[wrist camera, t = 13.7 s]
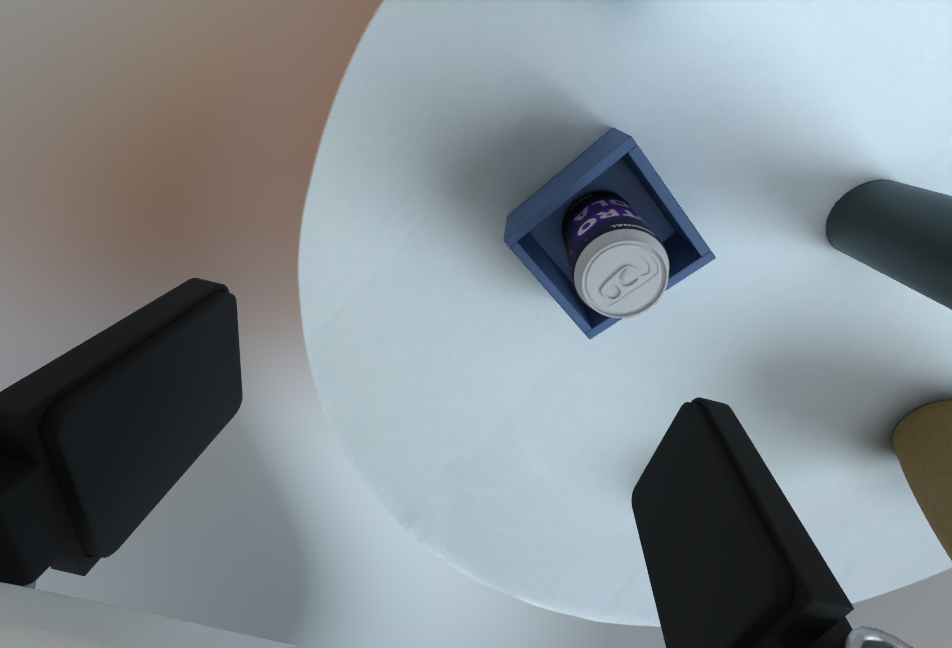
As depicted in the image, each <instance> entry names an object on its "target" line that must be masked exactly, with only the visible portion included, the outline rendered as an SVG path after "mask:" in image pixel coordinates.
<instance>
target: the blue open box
mask: <svg viewBox="0 0 952 648" xmlns="http://www.w3.org/2000/svg"><path fill="white" fill-rule="evenodd" d="M599 191H605V192H611V193H614V194H617V195H619V196H620V197H622V198H623V199H624V200H626V201H627V203H628V204H629V205H630V206H631V207H632V208H633V210H634V211H635V212H636V213H637V214H638V215H639V217H640V218H641V219H642V220H643V221H644V222H645V224H646V225H647V226H648V227H649V228H650V229H651V231H652V232H653V233H654V234H655V235H656V237H657V238H658V239H659V240H660V241H661V242H662V244H663V245H664V247H665V249H666V251H667V253H668V257H669V263H670V269H669V275H668V283H667V287H666V289H665V291H666V290H667V289H669V288H670V287H672V286H673V285H675V284H677V283H678V282H680V281H681V280H683V279H684V278H686V277H687V276H689V275H690V274H692V273H694V272H695V271H697V270H698V269H700V268H701V267H703V266H704V265H706V264H707V263H709V262H711V261H712V260H714V259H715V256H714V254H713V253H712V251H710V249H709V247H708V246H707V244H706V243H705V241H704V240H703V238H702V237H701V236H700V234H699V233H698V231H697V230H696V228H695V227H694V226H693V224H692V223H691V221H690V220H689V218H688V217H687V215H686V214H685V213H684V211H683V210H682V208H681V207H680V205H679V204H678V203H677V201H676V200H675V198H674V197H673V195H672V194H671V192H670V191H669V190H668V188H667V187H666V185H665V184H664V182H663V181H662V180H661V178H660V177H659V175H658V174H657V172H656V171H655V169H654V168H653V167H652V165H651V164H650V162H649V161H648V159H647V158H646V157H645V155H644V154H643V152H642V151H641V149H640V148H639V146H638V145H637V144H636V142H635V141H634V139H633V138H632V136H630V135H627V134H625V133H623V132H621V131H619V130H617V129H615V128H612V129H611V130H609V131H608V132H607V133H606V134H605V135H604V136H602V137H601V138H600V139H599V140H598V141H596V142H595V143H594V144H593V145H592V146H590V147H589V148H588V149H587V150H586V151H585V152H583V153H582V154H581V155H580V156H579V157H577V158H576V159H575V160H574V161H573V162H571V163H570V164H569V165H568V166H567V167H566V168H564V169H563V170H562V171H561V172H560V173H558V174H557V175H556V176H555V177H554V178H552V179H551V180H550V181H549V182H548V183H547V184H545V185H544V186H543V187H542V188H541V189H539V190H538V191H537V192H536V193H535V194H534V195H532V196H531V197H530V198H529V199H528V200H526V201H525V202H524V203H523V204H522V205H520V206H519V207H518V208H517V209H516V210H515V211H513V212H512V213H511V214H510V215H509V216H507V222H506V228H505V235H504V242H505V243H506V244H507V245H508V246H509V247H510V249H511V250H512V251H513V252H514V253H515V254H516V256H517V257H518V258H519V259H520V260H521V261H522V263H523V264H524V265H525V266H526V267H527V268H528V269H529V271H530V272H531V273H532V274H533V275H534V276H535V277H536V279H537V280H538V281H539V282H540V283H541V284H542V285H543V287H544V288H545V289H546V290H547V291H548V292H549V293H550V295H551V296H552V297H553V298H554V299H555V300H556V302H557V303H558V304H559V305H560V306H561V307H562V308H563V310H564V311H565V312H566V313H567V314H568V315H569V316H570V318H571V319H572V320H573V321H574V322H575V323H576V324H577V326H578V327H579V328H580V329H581V330H582V331H583V333H585V335H586V336H587V337H588V338H589V339H591V338H593V337H595V336H596V335H598V334H599V333H601V332H602V331H604V330H605V329H607V328H608V327H610V326H612V325H613V324H615V323H616V322H618V321H619V320H621V319H622V318H612V317H608V316H605V315H602V314H600V313H598V312H597V311H595V310H594V309H592V308H590V307H589V306H587V305H586V304H585V303H584V302H583V301H582V300H581V299H580V297H579V296H578V294H577V292H576V290H575V288H574V284H573V280H572V276H571V271H570V267H569V263H568V258H567V254H566V249H565V245H564V241H563V236H562V223H563V219H564V217H565V214H566V212H567V211H568V209H569V208H570V206H571V205H572V204H573V203H574V202H575V201H577V200H578V199H579V198H581V197H583V196H584V195H587V194H589V193H593V192H599Z"/></svg>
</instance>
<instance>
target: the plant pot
mask: <svg viewBox="0 0 952 648" xmlns="http://www.w3.org/2000/svg"><path fill="white" fill-rule="evenodd" d="M892 440H893V446H894V449H895V451H896V454H897V457H898V459H899V462H900V465H901V467H902V470H903V472H904V474H905V477H906V479H907V481H908V483H909V486H910V488H911V490H912V492H913V494H914V496H915V498H916V500H917V502H918V504H919V506H920V508H921V509H922V511H923V513H924V515H925V517H926V519H927V520H928V522H929V524H930V526H931V528H932V529H933V531H934V533H935V534H936V536H937V538H938V540H939V541H940V543H941V545H942V546H943V548H944V549H945V551H946V553H947V554H948V556H949V557H950V559H951V560H952V400H944V401H938V402H933V403H930V404H927V405H925V406H922V407H920V408H918V409H916V410H914V411H913V412H911V413H910V414H908V415H907V416H906V417H904V418H903V419H902V420H901V421H900V422H899V424H898V425H897V427H896V428H895V431H894V433H893V438H892Z"/></svg>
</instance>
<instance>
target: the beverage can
mask: <svg viewBox="0 0 952 648" xmlns="http://www.w3.org/2000/svg"><path fill="white" fill-rule="evenodd" d="M562 236H563V241H564V245H565V249H566V254H567V258H568V263H569V267H570V271H571V276H572V280H573V284H574V288H575V290H576V292H577V294H578V296H579V297H580V299H581V300H582V301H583V302H584V303H585V304H586V305H587V306H589V307H590V308H592V309H594V310H595V311H597V312H598V313H600V314H602V315H605V316H608V317H612V318H628V317H633V316H636V315H639V314H641V313H643V312H645V311H647V310H648V309H650V308H651V307H652V306H654V305H655V304H656V303H657V302H658V300H659V299H660V298H661V297H662V295H663V293H664V291H665V289H666V287H667V283H668V275H669V269H670V263H669V257H668V253H667V251H666V249H665V247H664V245H663V244H662V242H661V241H660V240H659V239H658V238H657V237H656V235H655V234H654V233H653V232H652V231H651V229H650V228H649V227H648V226H647V225H646V224H645V222H644V221H643V220H642V219H641V218H640V217H639V215H638V214H637V213H636V212H635V211H634V210H633V208H632V207H631V206H630V205H629V204H628V203H627V201H626V200H624V199H623V198H622V197H620V196H619V195H617V194H614V193H611V192H605V191H599V192H593V193H589V194H587V195H584V196H583V197H581V198H579V199H578V200H577V201H575V202H574V203H573V204H572V205H571V206H570V208H569V209H568V211H567V212H566V214H565V217H564V219H563V223H562Z"/></svg>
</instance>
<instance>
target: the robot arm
mask: <svg viewBox="0 0 952 648" xmlns="http://www.w3.org/2000/svg"><path fill="white" fill-rule="evenodd" d="M241 402H242V382H241V367H240V350H239V334H238V319H237V303H236V298H235V296H234V295H233V294H231V293H229V290H228V288H227V286H225V285H224V284H220V283H215V282H211V281H207V280H203V279H199V278H192V279H189V280H188V281H186V282H185V283H183V284H181V285H179V286H178V287H176V288H174V289H173V290H171V291H169V292H167V293H166V294H164V295H162V296H161V297H159V298H157V299H156V300H154V301H152V302H151V303H149V304H147V305H146V306H144V307H142V308H141V309H139V310H137V311H136V312H134V313H132V314H131V315H129V316H128V317H126V318H124V319H122V320H120V321H119V322H117V323H115V324H114V325H112V326H111V327H109V328H107V329H106V330H104V331H102V332H100V333H99V334H97V335H95V336H93V337H92V338H90V339H89V340H87V341H85V342H84V343H82V344H80V345H78V346H77V347H75V348H73V349H72V350H70V351H68V352H67V353H65V354H63V355H62V356H60V357H58V358H56V359H55V360H53V361H51V362H50V363H48V364H47V365H45V366H43V367H41V368H40V369H38V370H36V371H35V372H33V373H31V374H30V375H28V376H26V377H25V378H23V379H21V380H20V381H18V382H16V383H14V384H13V385H11V386H9V387H8V388H6V389H4V390H3V391H1V392H0V648H302V647H297V646H293V645H289V644H285V643H280V642H276V641H271V640H267V639H262V638H258V637H253V636H249V635H244V634H240V633H235V632H231V631H226V630H222V629H217V628H212V627H208V626H203V625H198V624H195V623H189V622H185V621H181V620H176V619H172V618H167V617H163V616H158V615H154V614H149V613H145V612H140V611H135V610H131V609H127V608H122V607H118V606H113V605H109V604H104V603H100V602H95V601H90V600H86V599H81V598H77V597H71V596H67V595H62V594H57V593H51V592H47V591H41V590H37V589H35V585H36V580H37V579H38V578H39V576H41V574H43V572H44V571H45V570H46V569H47V568H48V567H49V566H50V567H51V568H52V569H55V570H60V571H64V572H68V573H73V574H77V575H82V576H85V575H86V574H87V573H88V572H89V571H90V569H91V568H92V567H93V566H94V565H95V564H96V563H97V562H98V561H99V559H100V558H101V557H103V558H106V557H108V556H110V555H111V554H113V553H114V552H115V551H117V550H118V549H119V548H120V546H121V545H122V544H123V543H124V542H125V541H126V539H127V538H128V537H129V536H130V535H131V534H132V533H133V531H134V530H135V529H136V528H137V527H138V526H139V525H140V523H141V522H142V521H143V520H144V519H145V518H146V517H147V515H148V514H149V513H150V512H151V511H152V509H153V508H154V507H155V506H156V505H157V504H158V503H159V502H160V500H161V499H162V498H163V497H164V496H165V495H166V493H167V492H168V491H169V490H170V489H171V488H172V487H173V485H174V484H175V483H176V482H177V481H178V480H179V479H180V477H181V476H182V475H183V474H184V473H185V472H186V471H187V469H188V468H189V467H190V466H191V465H192V464H193V463H194V461H195V460H196V459H197V458H198V457H199V456H200V454H201V453H202V452H203V451H204V450H205V449H206V447H207V446H208V445H209V444H210V443H211V442H212V440H214V438H215V437H216V436H217V435H218V434H219V433H220V431H221V430H222V429H223V428H224V427H225V426H226V425H227V423H228V422H229V421H230V420H231V419H232V418H233V417H234V415H235V414H236V413H237V411H238V409H239V408H240V405H241ZM632 508H633V512H634V517H635V521H636V525H637V529H638V533H639V537H640V541H641V545H642V550H643V554H644V558H645V562H646V566H647V570H648V574H649V578H650V583H651V587H652V591H653V595H654V599H655V603H656V607H657V612H658V616H659V620H660V624H661V628H662V632H663V636H664V640H665V644H666V648H913V647H911V646H910V645H908V644H907V643H905V642H903V641H902V640H900V639H899V638H897V637H895V636H894V635H891V634H889V633H887V632H884V631H882V630H879V629H877V628H870V627H864V626H862V627H859V628H856V629H852V628H851V626H850V624H849V622H848V621H847V619H846V617H845V616H846V615H847V614H848V613H850V612H851V611H852V610H853V609H854V608H853V606H852V604H851V603H850V601H849V600H848V598H847V596H846V595H845V593H844V591H843V590H842V588H841V587H840V585H839V583H838V582H837V580H836V578H835V577H834V575H833V574H832V572H831V570H830V569H829V567H828V565H827V564H826V562H825V560H824V559H823V557H822V556H821V554H820V552H819V551H818V549H817V547H816V546H815V544H814V543H813V541H812V539H811V538H810V536H809V534H808V533H807V531H806V530H805V528H804V526H803V525H802V523H801V521H800V520H799V518H798V517H797V515H796V513H795V512H794V510H793V508H792V507H791V505H790V503H789V502H788V500H787V499H786V497H785V495H784V494H783V492H782V490H781V489H780V487H779V486H778V484H777V482H776V481H775V479H774V477H773V476H772V474H771V473H770V471H769V469H768V468H767V466H766V464H765V463H764V461H763V459H762V458H761V456H760V455H759V453H758V451H757V450H756V448H755V446H754V445H753V443H752V442H751V440H750V438H749V437H748V435H747V433H746V432H745V430H744V429H743V427H742V425H741V424H740V422H739V420H738V419H737V417H736V416H735V414H734V412H733V411H732V409H731V408H730V407H729V405H727V404H724V403H720V402H716V401H712V400H708V399H703V398H695V399H694V400H692V401H691V403H690V402H686V403H684V404H683V405H682V406H681V408H680V409H679V411H678V413H677V415H676V416H675V418H674V420H673V422H672V423H671V425H670V427H669V428H668V430H667V432H666V434H665V435H664V437H663V439H662V441H661V442H660V444H659V446H658V448H657V449H656V451H655V453H654V454H653V456H652V458H651V460H650V461H649V463H648V465H647V467H646V468H645V470H644V472H643V474H642V475H641V477H640V479H639V481H638V482H637V484H636V486H635V488H634V490H633V493H632Z"/></svg>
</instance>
